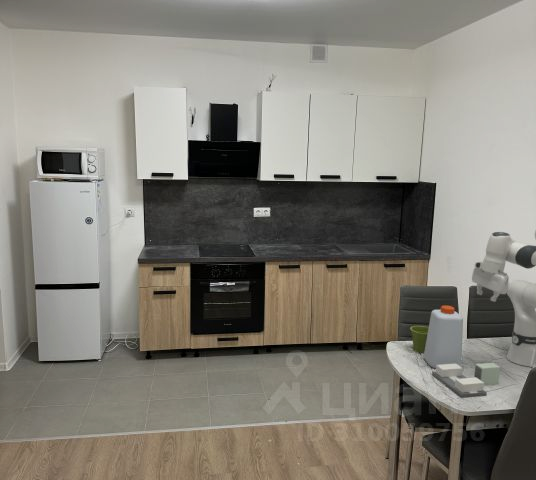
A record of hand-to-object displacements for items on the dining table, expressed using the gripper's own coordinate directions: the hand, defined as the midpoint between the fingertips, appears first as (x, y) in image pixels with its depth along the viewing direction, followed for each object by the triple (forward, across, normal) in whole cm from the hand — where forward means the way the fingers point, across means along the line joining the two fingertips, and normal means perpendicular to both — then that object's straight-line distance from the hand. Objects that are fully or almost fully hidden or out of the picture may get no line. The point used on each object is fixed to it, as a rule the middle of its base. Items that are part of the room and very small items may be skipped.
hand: (485, 297), depth 213 cm
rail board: (+37, -12, +14) cm, 41 cm away
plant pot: (+37, +25, +10) cm, 46 cm away
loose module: (+35, -12, 0) cm, 37 cm away
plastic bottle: (+37, +9, +8) cm, 39 cm away
